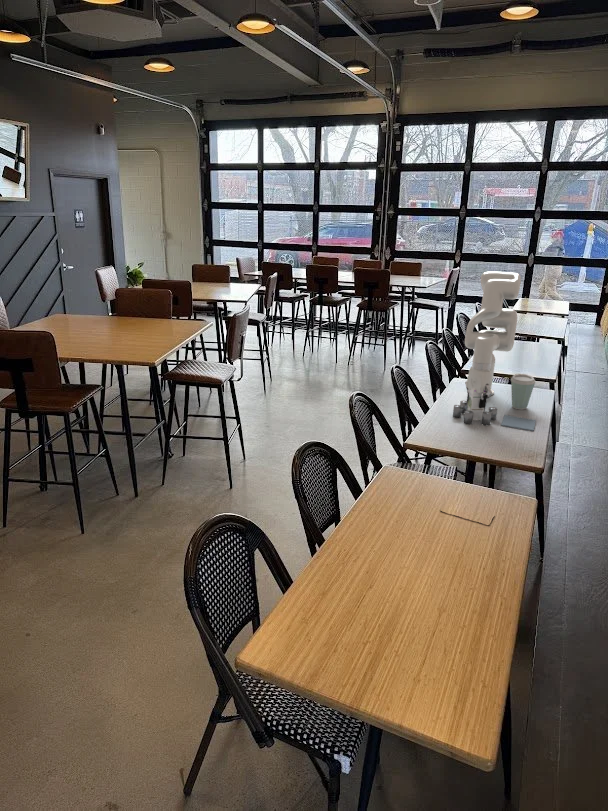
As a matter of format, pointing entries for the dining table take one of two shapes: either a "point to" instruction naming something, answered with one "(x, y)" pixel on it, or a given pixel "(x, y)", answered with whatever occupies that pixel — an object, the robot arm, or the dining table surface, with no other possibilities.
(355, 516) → the dining table surface
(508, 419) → the slate mat
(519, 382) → the disposable coffee cup
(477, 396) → the syrup box
